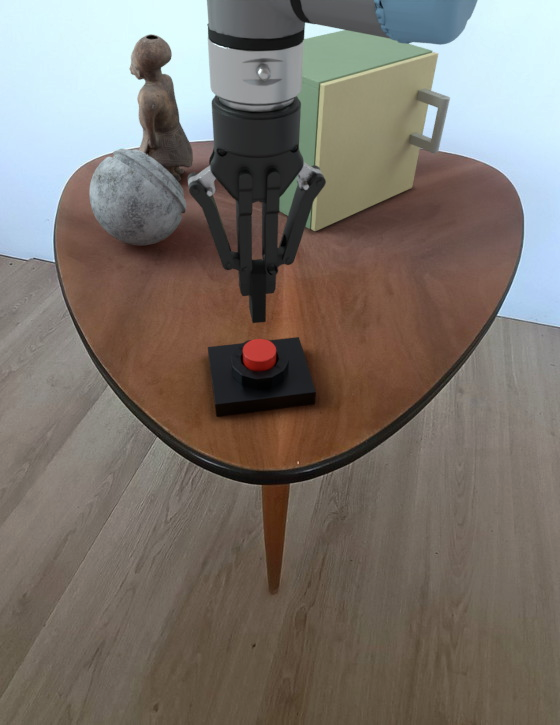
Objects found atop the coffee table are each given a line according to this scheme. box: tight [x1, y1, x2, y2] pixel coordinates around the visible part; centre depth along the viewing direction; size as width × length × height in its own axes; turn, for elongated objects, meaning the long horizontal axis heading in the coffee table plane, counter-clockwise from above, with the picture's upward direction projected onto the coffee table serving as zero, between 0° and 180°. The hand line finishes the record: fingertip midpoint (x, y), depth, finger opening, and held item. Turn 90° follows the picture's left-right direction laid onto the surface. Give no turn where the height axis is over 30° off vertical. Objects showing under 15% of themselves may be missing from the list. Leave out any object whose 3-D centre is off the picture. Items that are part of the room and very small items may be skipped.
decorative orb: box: [88, 148, 188, 246], centre depth 88 cm, size 15×14×15 cm
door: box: [310, 51, 451, 232], centre depth 92 cm, size 7×26×24 cm, turn 130°
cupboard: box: [279, 29, 433, 230], centre depth 99 cm, size 18×26×24 cm
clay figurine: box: [128, 34, 194, 182], centre depth 101 cm, size 13×10×25 cm
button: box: [243, 338, 276, 372], centre depth 67 cm, size 4×4×2 cm
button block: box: [207, 336, 317, 417], centre depth 68 cm, size 12×10×4 cm
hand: (257, 314), depth 62 cm, fingers closed
